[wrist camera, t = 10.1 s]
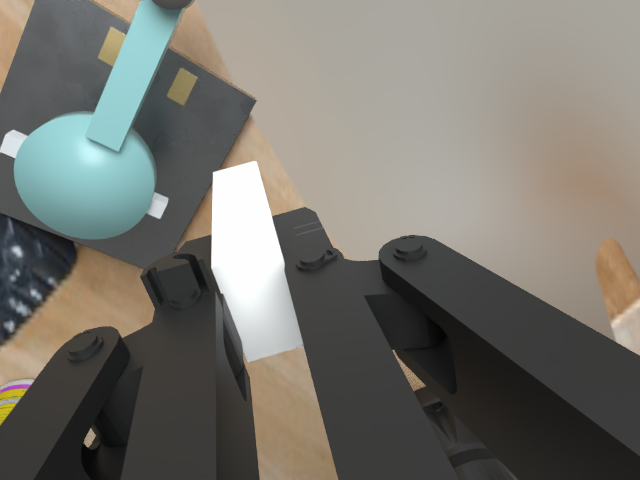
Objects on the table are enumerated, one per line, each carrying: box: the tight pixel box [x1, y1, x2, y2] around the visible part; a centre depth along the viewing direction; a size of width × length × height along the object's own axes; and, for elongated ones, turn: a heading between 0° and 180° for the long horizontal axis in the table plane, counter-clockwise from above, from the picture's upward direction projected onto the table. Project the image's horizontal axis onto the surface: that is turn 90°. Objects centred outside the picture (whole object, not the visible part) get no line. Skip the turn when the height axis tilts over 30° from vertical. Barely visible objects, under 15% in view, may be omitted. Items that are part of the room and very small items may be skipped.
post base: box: [0, 0, 256, 269], centre depth 34 cm, size 16×18×7 cm
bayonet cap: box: [0, 0, 195, 239], centre depth 27 cm, size 18×10×5 cm, turn 149°
